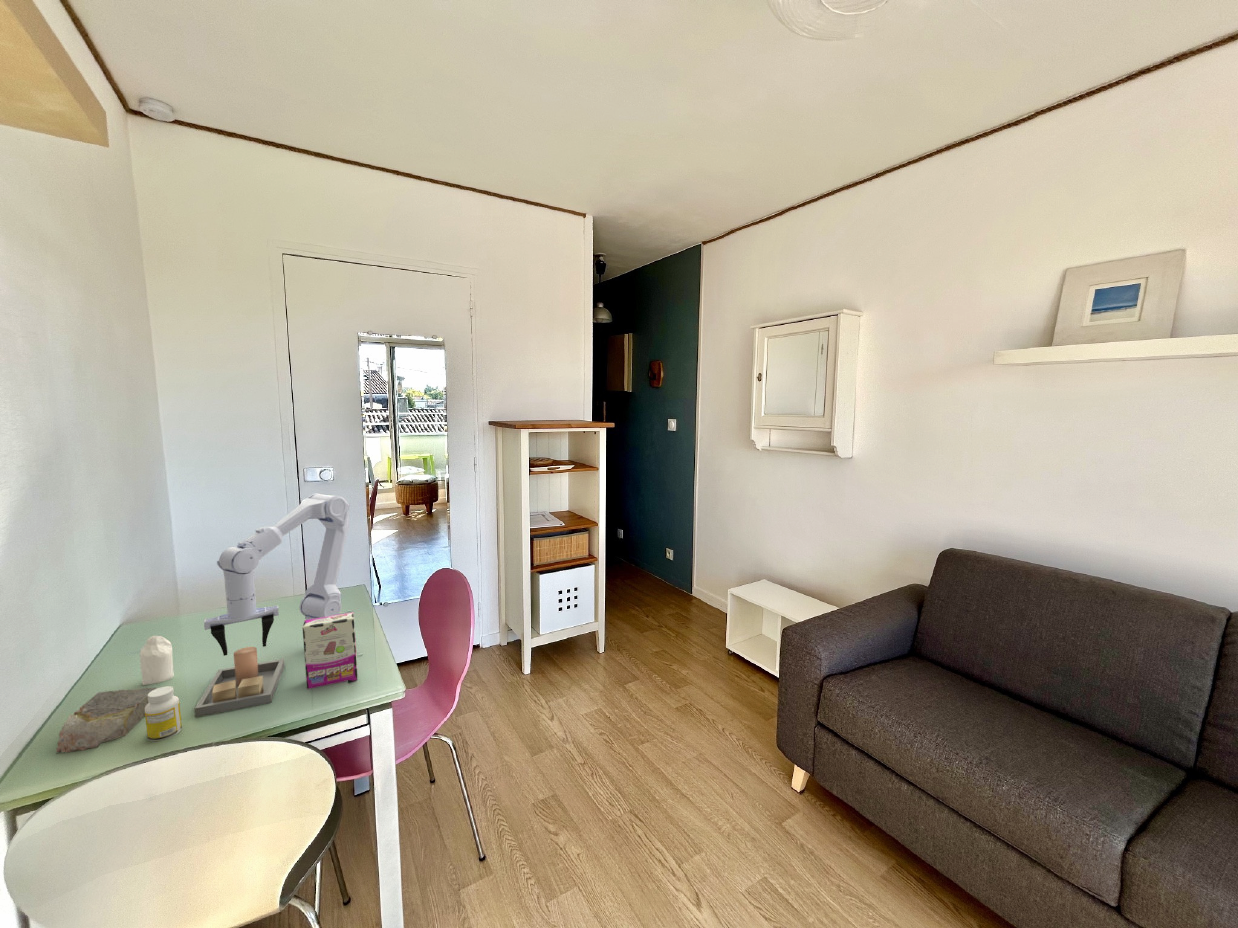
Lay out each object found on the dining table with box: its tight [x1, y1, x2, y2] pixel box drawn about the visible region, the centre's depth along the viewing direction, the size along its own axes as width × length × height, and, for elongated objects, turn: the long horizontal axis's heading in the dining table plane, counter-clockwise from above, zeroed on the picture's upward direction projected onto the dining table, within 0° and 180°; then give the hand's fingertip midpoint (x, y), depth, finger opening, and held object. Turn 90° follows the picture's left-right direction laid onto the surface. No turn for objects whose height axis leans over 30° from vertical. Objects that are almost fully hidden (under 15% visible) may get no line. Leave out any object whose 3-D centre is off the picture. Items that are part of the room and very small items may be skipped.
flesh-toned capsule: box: [233, 646, 259, 687], centre depth 126 cm, size 5×5×8 cm
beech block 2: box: [238, 676, 264, 698], centre depth 120 cm, size 4×4×4 cm
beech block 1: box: [212, 680, 237, 703], centre depth 117 cm, size 4×4×4 cm
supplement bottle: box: [144, 685, 183, 742], centre depth 106 cm, size 5×5×10 cm
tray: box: [194, 658, 286, 718], centre depth 123 cm, size 14×18×3 cm
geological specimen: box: [55, 687, 157, 753], centre depth 109 cm, size 11×6×15 cm
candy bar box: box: [302, 611, 359, 690], centre depth 128 cm, size 11×5×16 cm, turn 117°
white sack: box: [139, 635, 175, 686], centre depth 127 cm, size 6×12×6 cm
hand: (245, 649), depth 125 cm, fingers open, 7 cm apart
